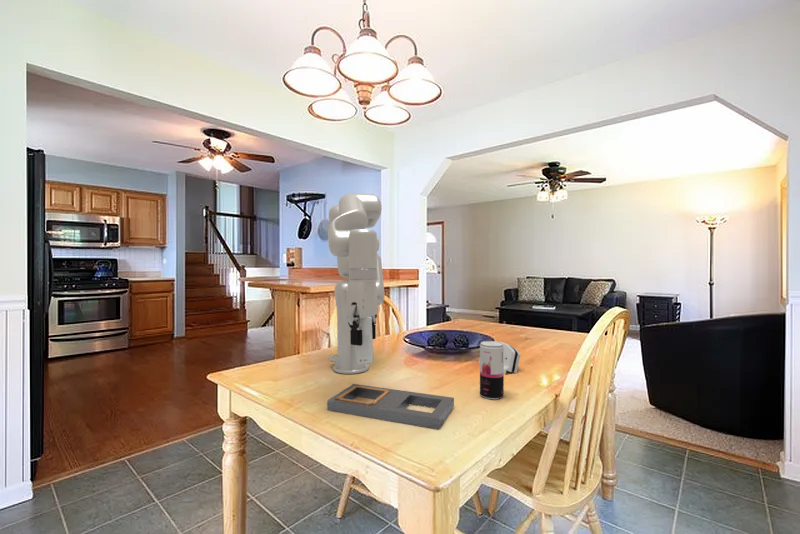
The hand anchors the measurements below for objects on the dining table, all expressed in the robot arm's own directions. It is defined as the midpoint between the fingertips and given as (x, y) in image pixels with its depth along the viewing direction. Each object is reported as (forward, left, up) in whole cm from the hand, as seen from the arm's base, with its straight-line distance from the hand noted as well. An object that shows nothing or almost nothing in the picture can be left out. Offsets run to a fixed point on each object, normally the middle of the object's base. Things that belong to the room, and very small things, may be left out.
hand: (363, 341), depth 102 cm
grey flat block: (+8, 0, -17) cm, 19 cm away
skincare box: (0, 0, -5) cm, 5 cm away
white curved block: (+29, +49, -17) cm, 60 cm away
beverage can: (+31, +19, -17) cm, 40 cm away
